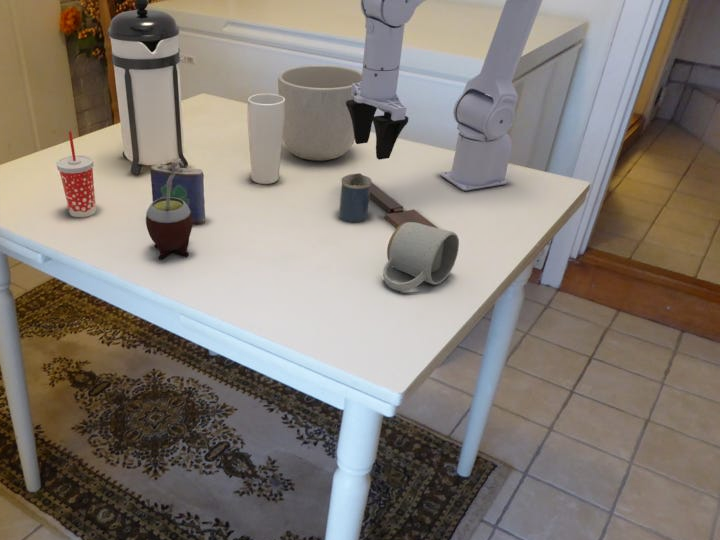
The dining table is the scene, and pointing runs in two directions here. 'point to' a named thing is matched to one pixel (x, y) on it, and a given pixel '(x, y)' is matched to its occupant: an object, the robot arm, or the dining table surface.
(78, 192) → the beverage cup
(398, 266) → the ceramic mug
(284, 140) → the planter
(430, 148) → the dining table surface
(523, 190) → the dining table surface
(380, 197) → the spatula
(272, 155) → the drinking glass
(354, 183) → the tin
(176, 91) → the coffee press
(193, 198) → the flask
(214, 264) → the dining table surface
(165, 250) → the mate gourd
